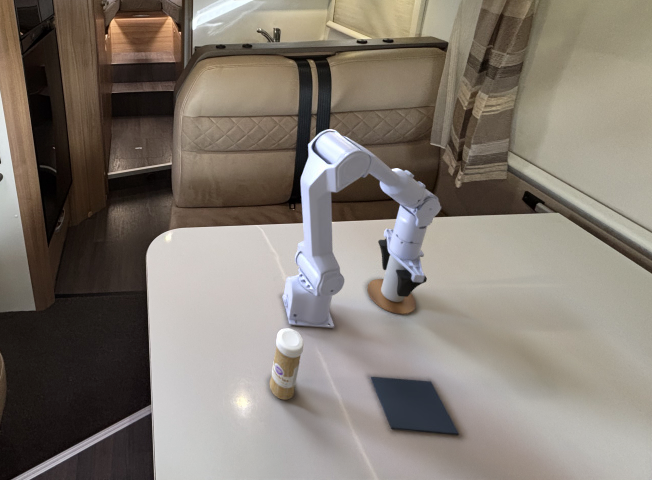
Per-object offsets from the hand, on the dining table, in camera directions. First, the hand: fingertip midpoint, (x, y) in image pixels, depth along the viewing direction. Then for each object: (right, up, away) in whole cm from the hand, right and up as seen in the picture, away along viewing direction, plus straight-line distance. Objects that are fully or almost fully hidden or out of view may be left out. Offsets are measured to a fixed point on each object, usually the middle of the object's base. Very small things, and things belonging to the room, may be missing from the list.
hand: (394, 281), depth 98 cm
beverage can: (0, -4, +2) cm, 4 cm away
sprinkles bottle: (-32, -13, -18) cm, 39 cm away
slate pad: (-9, -13, -21) cm, 26 cm away
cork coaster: (0, -4, +2) cm, 5 cm away
